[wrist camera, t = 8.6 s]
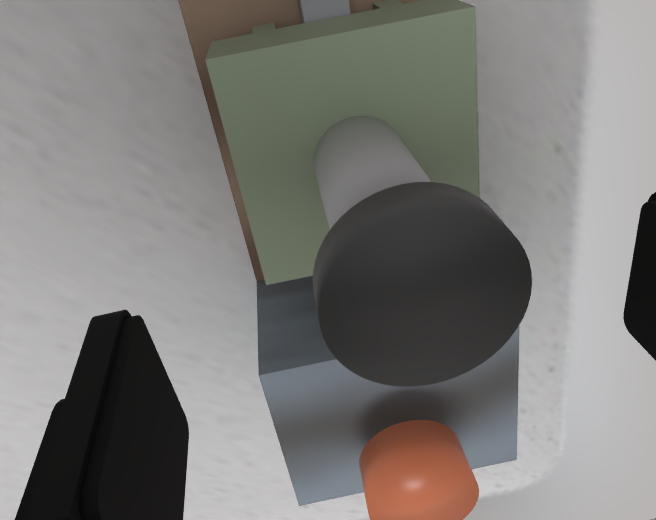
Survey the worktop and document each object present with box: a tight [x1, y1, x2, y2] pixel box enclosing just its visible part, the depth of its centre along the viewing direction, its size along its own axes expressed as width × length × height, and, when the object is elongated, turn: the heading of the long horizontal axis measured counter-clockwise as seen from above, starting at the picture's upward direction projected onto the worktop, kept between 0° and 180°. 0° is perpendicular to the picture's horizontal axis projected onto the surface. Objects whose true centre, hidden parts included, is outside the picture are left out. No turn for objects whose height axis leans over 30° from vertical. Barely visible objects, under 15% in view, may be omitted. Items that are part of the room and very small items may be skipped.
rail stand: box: [178, 0, 519, 506], centre depth 19 cm, size 37×10×8 cm, turn 9°
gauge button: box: [359, 420, 479, 520], centre depth 21 cm, size 4×4×2 cm
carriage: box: [205, 0, 532, 387], centre depth 17 cm, size 8×8×13 cm
